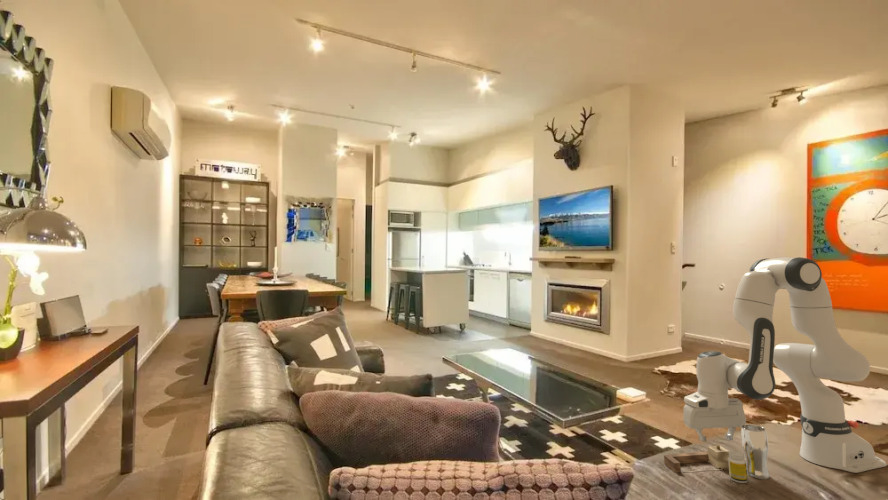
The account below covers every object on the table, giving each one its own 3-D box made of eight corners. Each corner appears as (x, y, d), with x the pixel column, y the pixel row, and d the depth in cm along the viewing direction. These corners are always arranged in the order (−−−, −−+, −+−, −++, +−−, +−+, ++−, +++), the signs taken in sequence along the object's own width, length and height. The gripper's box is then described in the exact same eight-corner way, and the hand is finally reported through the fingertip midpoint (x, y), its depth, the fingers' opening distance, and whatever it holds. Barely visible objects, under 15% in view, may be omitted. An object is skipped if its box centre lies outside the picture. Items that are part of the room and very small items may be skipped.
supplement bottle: (751, 483, 126) (748, 456, 126) (734, 483, 127) (731, 455, 127) (742, 476, 130) (740, 449, 131) (726, 475, 131) (724, 449, 132)
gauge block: (721, 461, 141) (719, 442, 141) (730, 467, 136) (729, 447, 136) (708, 462, 140) (707, 442, 141) (718, 468, 136) (716, 448, 136)
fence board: (715, 458, 143) (714, 449, 143) (732, 468, 135) (731, 459, 135) (662, 462, 142) (661, 453, 143) (675, 473, 134) (675, 463, 135)
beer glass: (742, 475, 131) (738, 428, 132) (745, 467, 136) (741, 422, 137) (770, 482, 126) (765, 433, 127) (772, 473, 131) (767, 426, 132)
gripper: (734, 395, 143) (737, 435, 142) (679, 397, 142) (681, 437, 141) (749, 400, 137) (752, 442, 136) (691, 403, 136) (693, 445, 135)
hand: (716, 440), depth 139 cm, fingers open, 8 cm apart
